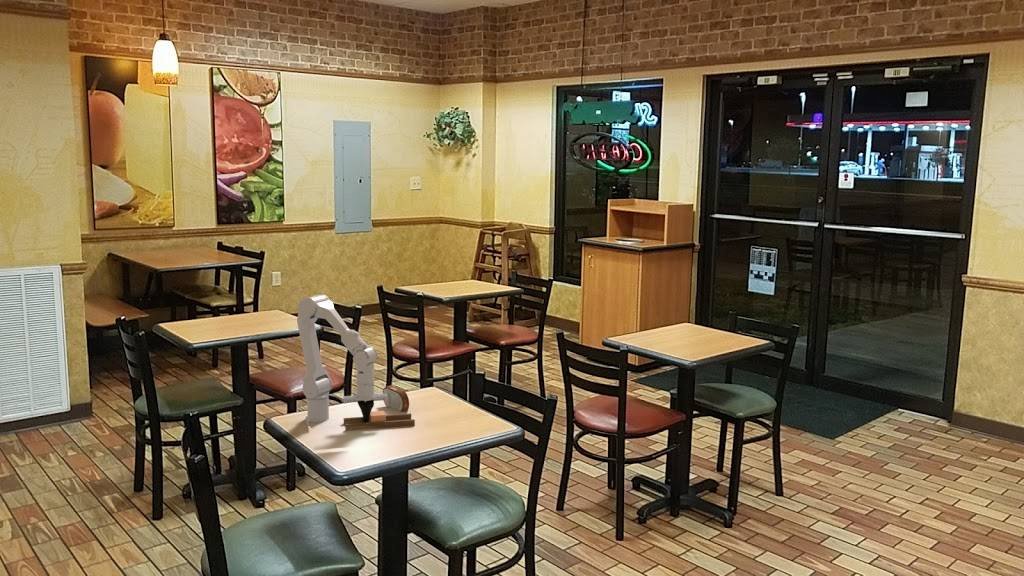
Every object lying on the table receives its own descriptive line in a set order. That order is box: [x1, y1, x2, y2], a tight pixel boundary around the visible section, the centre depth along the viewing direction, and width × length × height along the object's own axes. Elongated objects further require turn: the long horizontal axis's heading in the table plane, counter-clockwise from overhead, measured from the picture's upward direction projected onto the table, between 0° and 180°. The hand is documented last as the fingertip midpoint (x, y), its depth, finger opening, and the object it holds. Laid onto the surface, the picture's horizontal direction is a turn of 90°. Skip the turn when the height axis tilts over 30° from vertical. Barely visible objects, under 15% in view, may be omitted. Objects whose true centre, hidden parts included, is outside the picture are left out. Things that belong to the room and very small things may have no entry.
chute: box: [343, 412, 416, 432], centre depth 277 cm, size 8×23×3 cm, turn 107°
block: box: [369, 410, 387, 422], centre depth 276 cm, size 5×5×4 cm
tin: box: [382, 384, 410, 412], centre depth 297 cm, size 15×3×8 cm, turn 39°
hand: (365, 422), depth 275 cm, fingers closed
